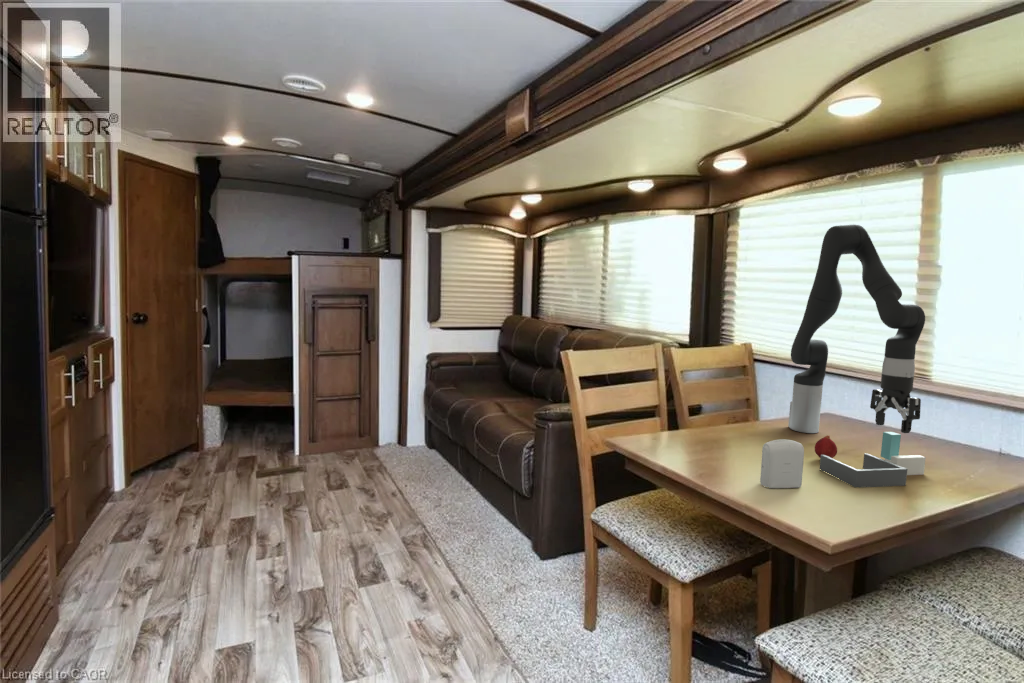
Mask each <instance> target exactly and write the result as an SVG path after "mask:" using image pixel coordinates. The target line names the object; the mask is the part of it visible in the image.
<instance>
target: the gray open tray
mask: <svg viewBox="0 0 1024 683" xmlns="http://www.w3.org/2000/svg"><path fill="white" fill-rule="evenodd" d="M819 459H820V460H819V469H821V470H822V471H825V472H827V473H829V474H831V475H833V476H835V477H837V478H839V479H840V480H839V479H838V480H839V481H841V480H842V481H841V482H843V481H844V482H843V483H845V482H846V483H845V484H847V483H848V484H847V485H849V484H850V486H851V485H852V486H851V487H853V486H854V487H853V488H855V487H859V488H878V487H879V488H880V487H883V488H884V487H902V486H904V487H905V486H906V485H907V478H908V477H907V476H908V475H907V470H908V469H906V468H903V467H901V466H898V465H896V464H893V463H891V462H888V461H886V460H885V459H883V458H882V457H877V456H875V455H873V454H870V453H867V452H866V453H865V452H864V453H863V462H862V469H861V468H860V469H858V468H856V467H853V466H850V465H848V464H847V463H844V462H842V461H840V460H837V459H835V458H834V457H833V458H830V457H828V456H826V455H821V457H819ZM863 468H864V469H863ZM822 471H821V472H822ZM829 474H828V475H829ZM831 475H830V476H831ZM833 476H832V477H833ZM835 477H834V478H835ZM837 478H836V479H837Z"/></svg>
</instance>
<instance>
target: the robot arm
mask: <svg viewBox="0 0 1024 683" xmlns="http://www.w3.org/2000/svg"><path fill="white" fill-rule="evenodd" d="M820 249H821V250H820V254H819V261H818V265H817V268H816V269H817V270H816V273H815V275H814V276H815V277H814V281H813V284H812V287H811V289H810V293H809V297H808V299H807V302H806V307H805V311H804V313H803V314H804V315H803V317H802V320H801V323H800V326H799V328H798V330H797V333H796V335H795V337H794V341H793V343H792V345H791V349H790V360H791V362H792V363H793V364H795V365H801V366H809V368H808V369H806V370H805V371H802V372H799V373H796V374H795V375H794V377H793V385H792V386H793V387H792V399H791V400H792V401H790V402H789V412H788V413H789V415H788V425H787V426H788V427H789V429H790V430H791V431H792V430H793V431H796V432H798V433H799V432H800V433H805V434H806V433H807V434H816V433H819V431H820V430H819V429H820V420H821V408H822V398H823V386H824V380H825V377H826V370H827V362H828V359H829V358H828V357H829V347H828V344H827V342H826V341H825V340H823V339H812V338H813V336H814V334H815V333H816V332H817V331H818V329H820V327H822V326H823V325H824V324H825V323H826V322H828V321H829V320H830V319H832V317H833V316H834V315H835V314H836V313H837V311H838V308H839V306H840V304H841V299H842V296H843V288H842V284H841V282H840V279H839V276H838V266H839V262H840V260H841V257H842V255H852V254H853V255H854V257H856V258H857V259H858V260H859V262H860V263H861V267H862V273H861V274H862V275H861V280H862V283H863V286H864V288H865V289H866V291H867V292H868V294H869V296H870V297H871V298H872V299H873V301H874V302H875V306H876V309H877V312H878V315H879V316H878V317H879V318H880V320H881V322H882V323H883V324H884V325H885V326H886V327H888V328H890V329H893V330H897V331H896V334H895V335H894V336H891V337H889V338H887V339H886V342H885V348H884V356H883V357H884V358H883V362H882V369H881V379H880V389H877V388H875V389H872V391H871V400H870V406H869V407H870V409H871V410H872V409H873V410H874V412H875V424H876V426H877V425H878V426H885V421H886V411H887V410H888V409H889V408H891V409H893V410H896V411H897V412H898V414H900V416H901V418H902V419H901V426H900V432H901V433H902V434H910V432H911V430H912V424H913V421H914V420H920V418H921V403H922V400H921V398H920V397H912V396H911V393H912V391H914V388H913V387H914V378H915V372H916V371H915V369H916V365H915V364H916V363H915V362H916V361H915V358H916V346H917V343H918V341H919V340H920V337H921V334H922V332H923V330H924V327H925V324H926V314H925V311H924V310H923V308H922V307H920V305H917V304H910V303H909V304H907V303H906V304H902V303H901V302H900V301H899V300H901V298H902V295H903V292H902V289H901V288H900V286H899V285H898V284H897V282H896V281H895V280H894V278H893V277H892V276H891V274H890V273H889V272H888V270H887V268H886V267H885V266H884V264H883V261H882V260H881V258H880V255H879V252H878V251H877V249H876V247H875V245H874V242H873V240H872V238H871V237H870V234H869V233H868V231H867V230H866V229H865V228H864V226H862V225H860V224H844V225H841V224H840V225H833V226H832V227H830V228H829V229H827V230H826V231H825V234H824V236H823V239H822V244H821V248H820Z"/></svg>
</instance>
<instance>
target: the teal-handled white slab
mask: <svg viewBox="0 0 1024 683" xmlns="http://www.w3.org/2000/svg"><path fill="white" fill-rule="evenodd" d="M901 437H902V434H900V433H897V432H894V431H883V432H882V438H881V439H882V440H881V448H880V458H882V459H883V458H884V460H886V461H888V462H891V463H893V464H896V465H898V466H901V467H903V468H906V469H908V470H907V476H917V475H925V466H926V458H927V457H926V456H923V455H920V454H914V455H913V454H912V455H911V454H910V455H900V449H901V448H900V447H901Z"/></svg>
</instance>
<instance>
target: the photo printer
mask: <svg viewBox="0 0 1024 683" xmlns="http://www.w3.org/2000/svg"><path fill="white" fill-rule="evenodd" d="M804 456H805V448H804V446H803V443H800V442H799V441H796V440H792V439H784V438H781V439H774V440H770V441H767V442H765V443H764V444H763V445H762V450H761V462H760V464H761V465H760V479H759V480H760V481H759V482H760V486H762V485H763V486H765V487H769V488H768V489H789V488H790V489H792V488H795V489H797V488H802V482H803V472H804V458H805V457H804ZM763 486H762V487H763ZM765 487H764V488H765Z"/></svg>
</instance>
